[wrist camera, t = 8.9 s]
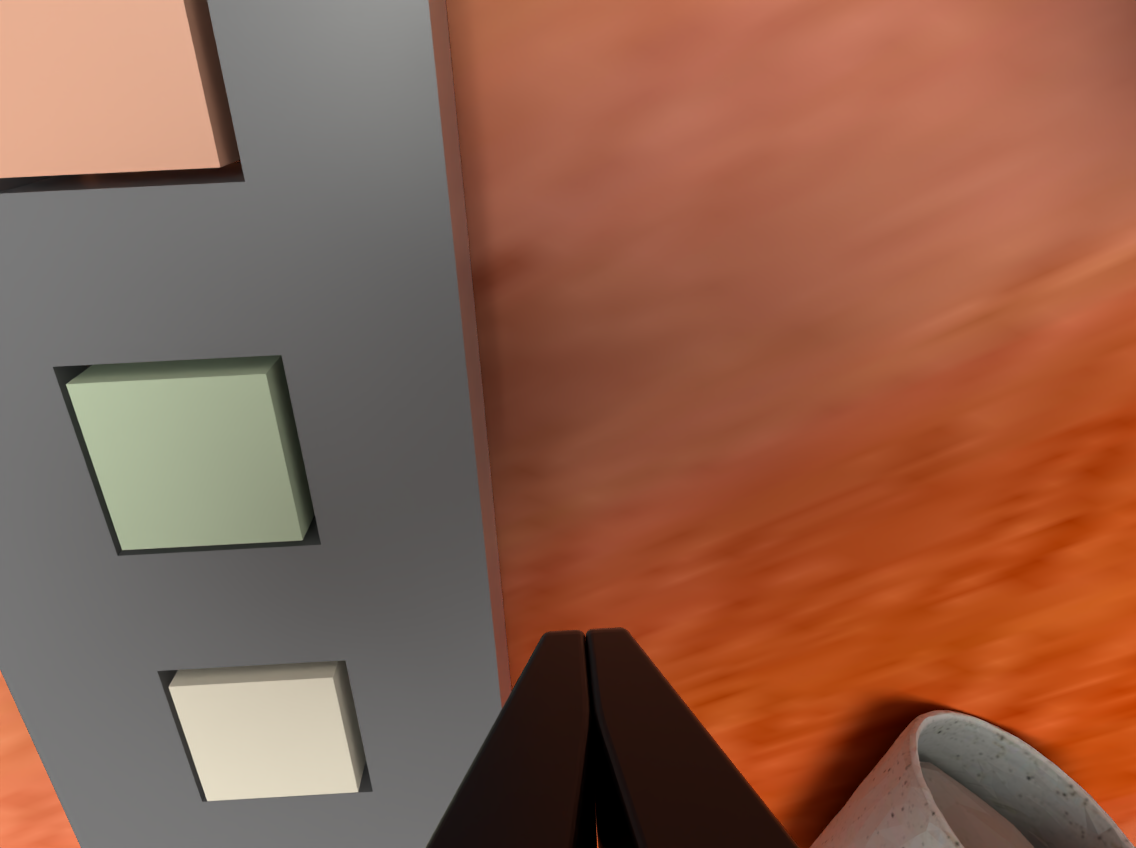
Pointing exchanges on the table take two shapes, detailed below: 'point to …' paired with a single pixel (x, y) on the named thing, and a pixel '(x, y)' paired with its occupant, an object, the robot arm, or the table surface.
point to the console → (324, 424)
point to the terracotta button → (111, 88)
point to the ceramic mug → (968, 795)
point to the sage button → (195, 451)
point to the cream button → (271, 729)
